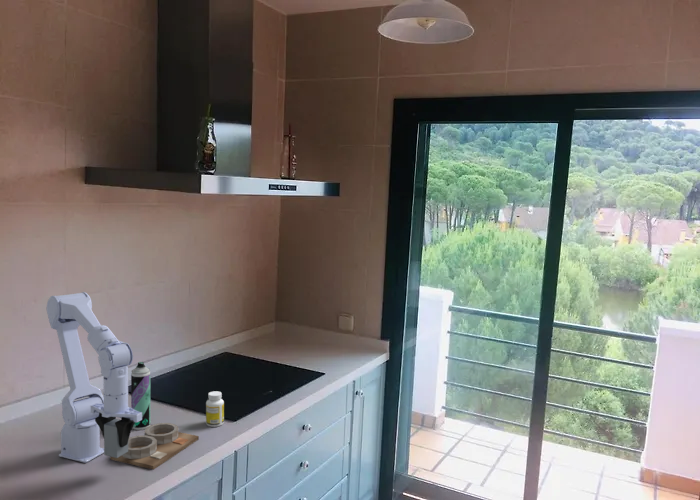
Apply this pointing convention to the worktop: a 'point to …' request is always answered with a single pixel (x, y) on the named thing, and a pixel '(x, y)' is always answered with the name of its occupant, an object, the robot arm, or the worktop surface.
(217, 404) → the supplement bottle
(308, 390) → the worktop surface
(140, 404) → the spray can
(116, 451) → the plug
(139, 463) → the socket board
